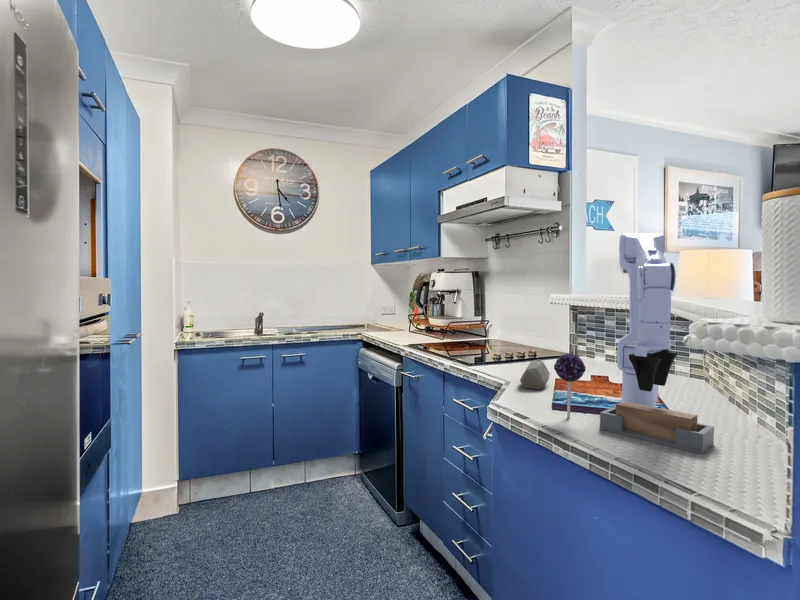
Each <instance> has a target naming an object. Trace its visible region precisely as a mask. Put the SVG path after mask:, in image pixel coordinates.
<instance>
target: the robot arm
mask: <svg viewBox="0 0 800 600" xmlns="http://www.w3.org/2000/svg"><path fill="white" fill-rule="evenodd" d="M618 242H619V244H618V247H619V248H618V253H619V254H618V255H619V261H618V263H619V264H620V265H619V266H620V268H621V269H623V270H624V271H627V276H628V277H629V278H628V279H629V332H628V333H627V334H625V335H624V336H622V337H621V338H619V340H617V341H618V342H617V348H616V367H617V369H618V370H619V371H622V376H621V378H622V379H621V380H622V382H621V383H622V384H621V402H623V401H625V402H631V403H636V404H641V405H647V406H653V405H654V403H656V402H658V403H659V386H661V387H665V386H666V384H667V380H668V377H669V373H670V369H671V367H672V365H673V363H674V361H675V360H676V358H677V356H678V352H677V351H671V349H672V341H671V319H672V318H671V316H672V312H671V311H672V292H673V291H674V289H675V286H676V281H677V280H676V278H677V275H676V267H675V266H676V265H675V263H674V262H668V263H667V260H666V257H665V249H666V237H665V234H664V233H663V232H657V233H654V232H653V233H652V232H651V233H622V234H621V235H620V236H619V241H618Z"/></svg>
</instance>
